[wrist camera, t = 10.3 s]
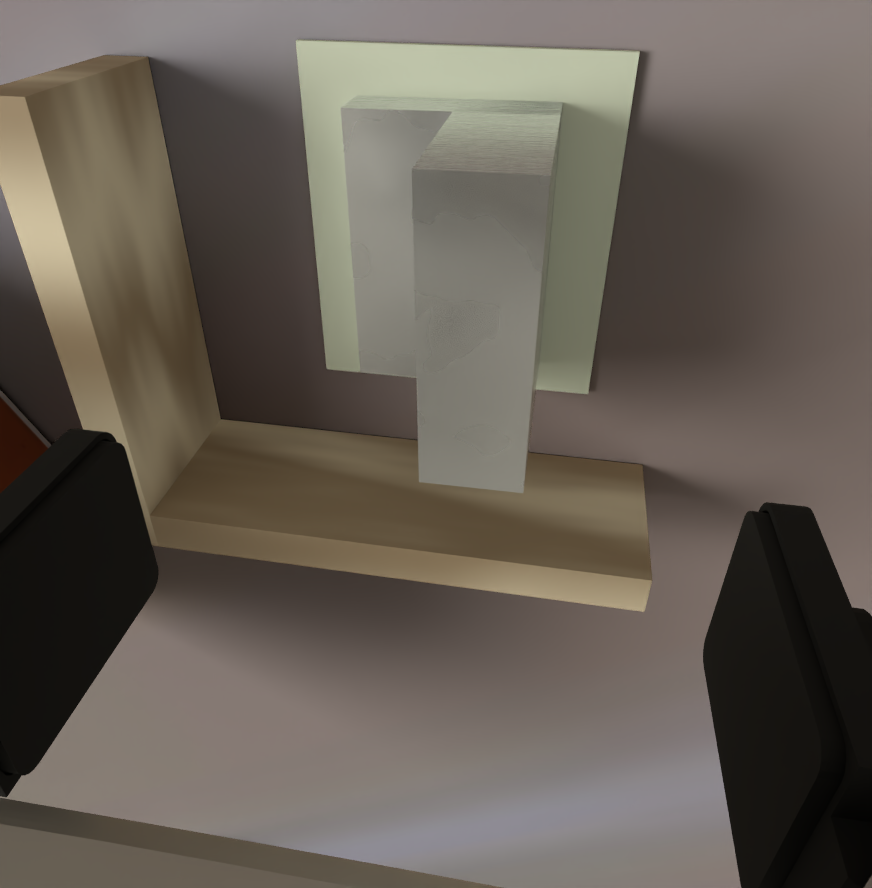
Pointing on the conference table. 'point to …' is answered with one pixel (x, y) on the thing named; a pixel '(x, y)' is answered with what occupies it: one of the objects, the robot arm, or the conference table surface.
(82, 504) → the robot arm
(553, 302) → the pad
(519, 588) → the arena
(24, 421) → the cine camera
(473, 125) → the bracket
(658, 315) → the conference table surface
